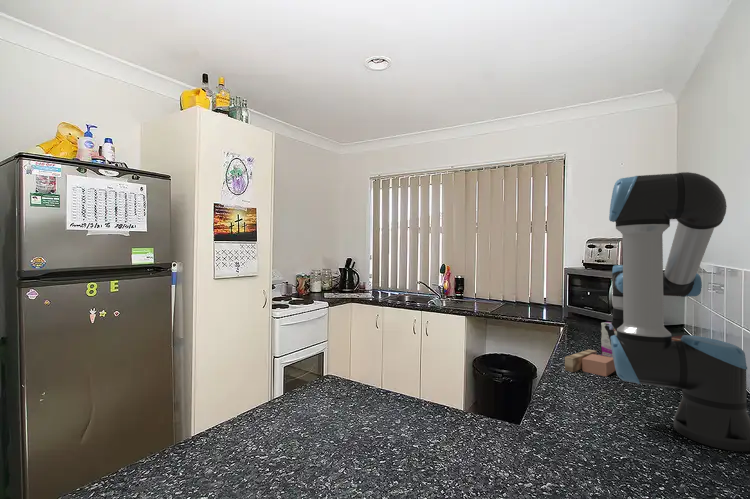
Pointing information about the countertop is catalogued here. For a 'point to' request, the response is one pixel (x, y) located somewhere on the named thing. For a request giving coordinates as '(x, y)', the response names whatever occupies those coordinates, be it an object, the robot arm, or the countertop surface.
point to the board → (576, 360)
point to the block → (598, 365)
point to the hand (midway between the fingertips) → (625, 374)
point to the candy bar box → (606, 341)
